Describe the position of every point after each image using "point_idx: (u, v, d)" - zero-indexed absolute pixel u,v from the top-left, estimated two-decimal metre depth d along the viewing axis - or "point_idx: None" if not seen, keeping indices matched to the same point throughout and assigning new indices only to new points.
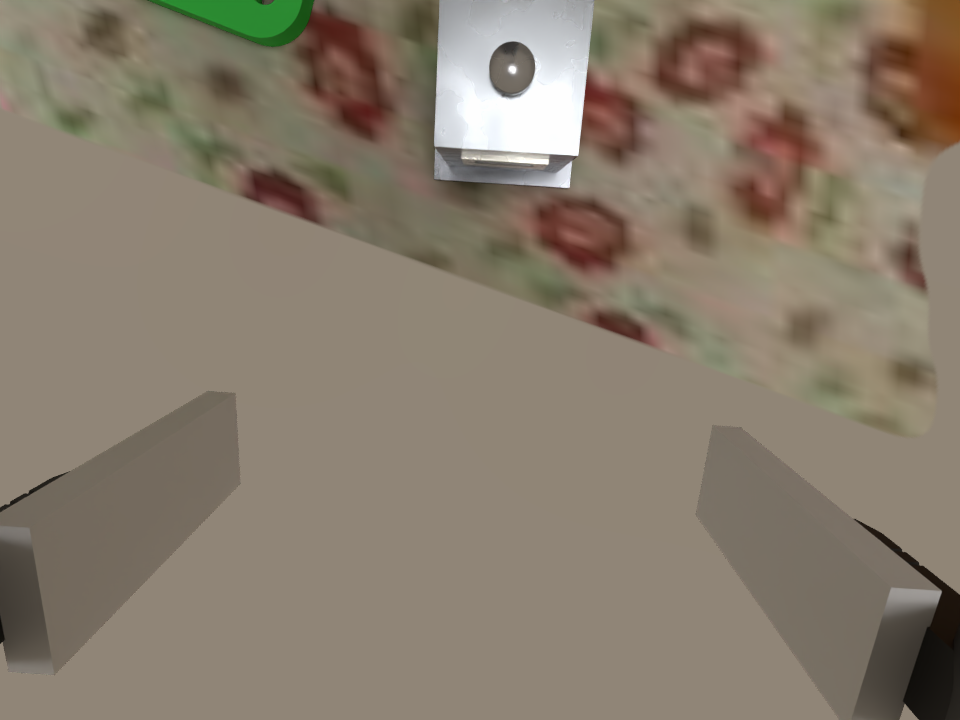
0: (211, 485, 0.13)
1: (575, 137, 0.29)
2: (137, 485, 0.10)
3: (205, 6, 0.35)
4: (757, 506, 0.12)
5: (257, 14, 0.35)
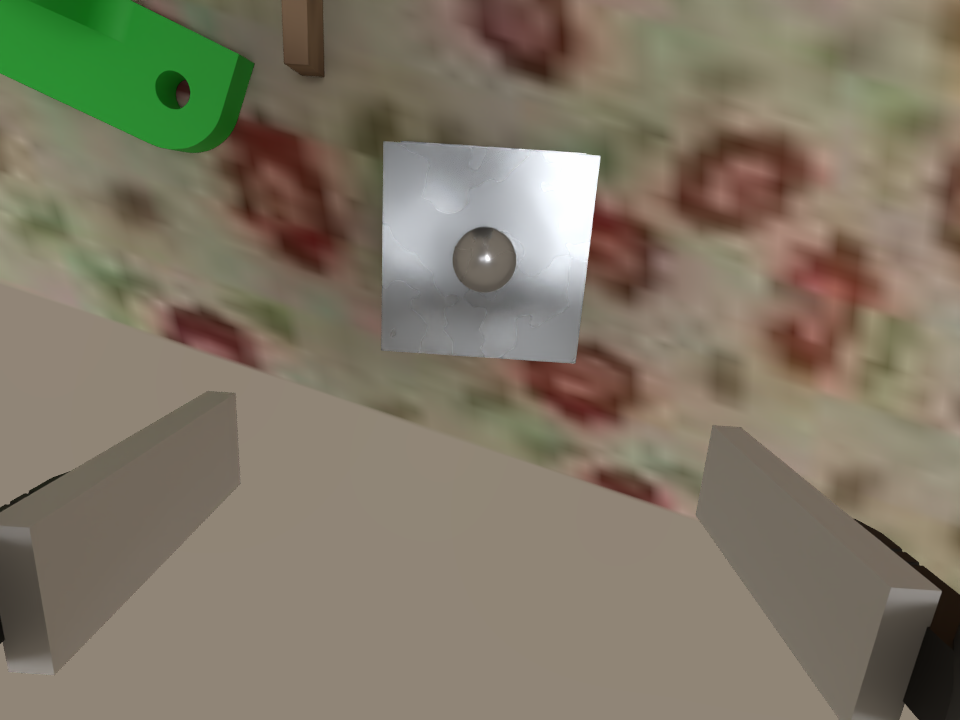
0: (211, 485, 0.13)
1: (571, 341, 0.21)
2: (137, 485, 0.10)
3: (96, 103, 0.27)
4: (757, 506, 0.12)
5: (163, 119, 0.27)
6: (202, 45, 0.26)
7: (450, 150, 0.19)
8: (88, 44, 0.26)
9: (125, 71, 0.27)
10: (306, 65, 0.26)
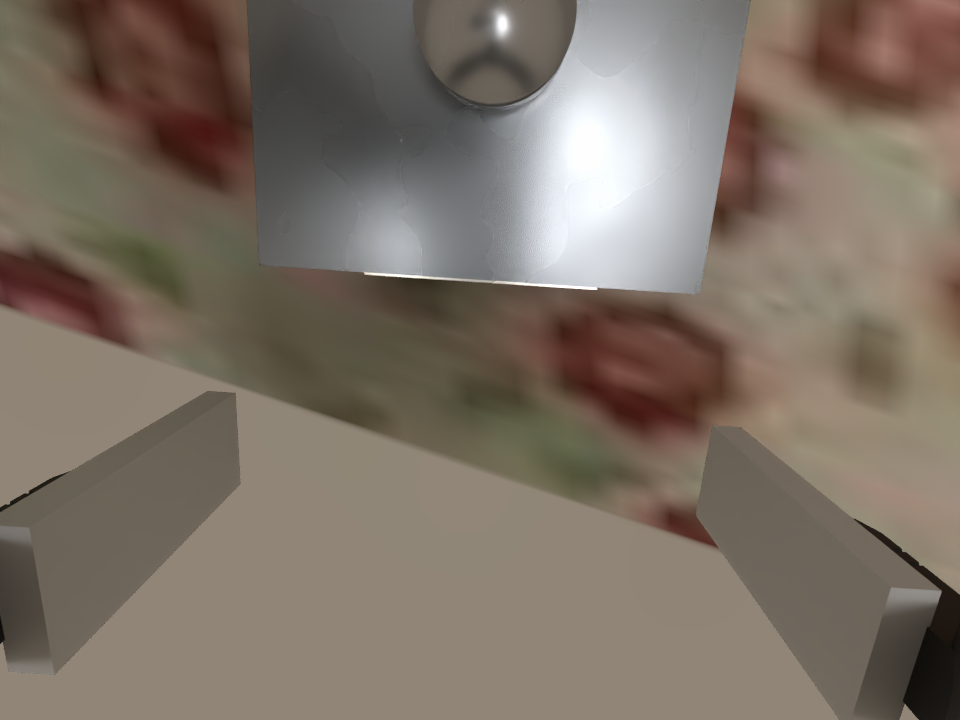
0: (211, 485, 0.13)
1: (694, 240, 0.09)
2: (137, 485, 0.10)
3: None
4: (757, 505, 0.12)
5: None
6: None
7: None
8: None
9: None
10: None
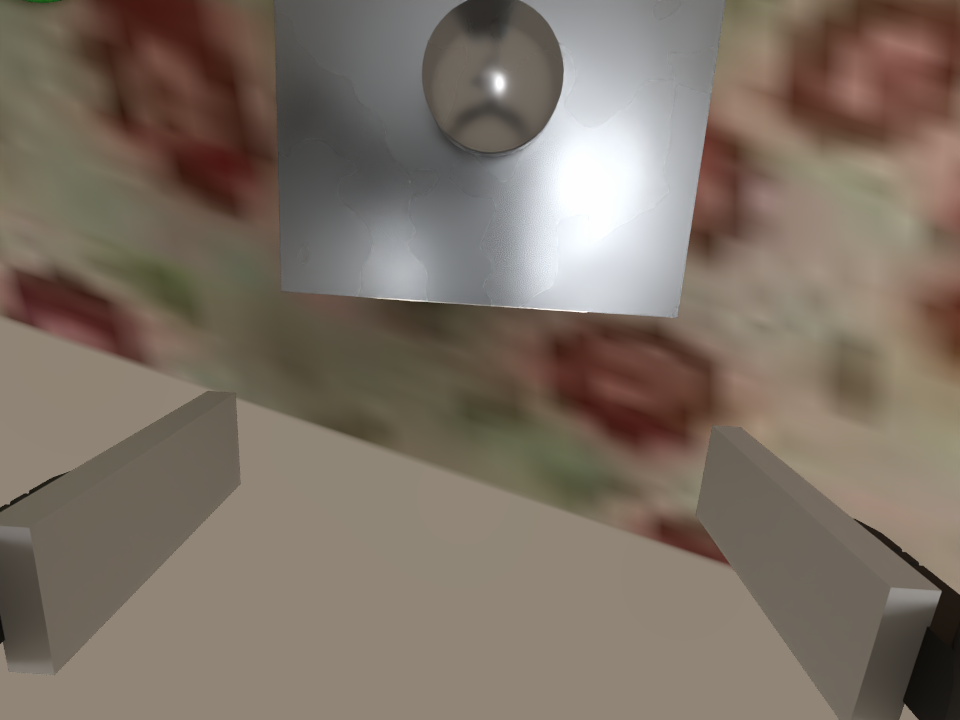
0: (211, 485, 0.13)
1: (671, 270, 0.10)
2: (137, 485, 0.10)
3: None
4: (757, 506, 0.12)
5: None
6: None
7: None
8: None
9: None
10: None
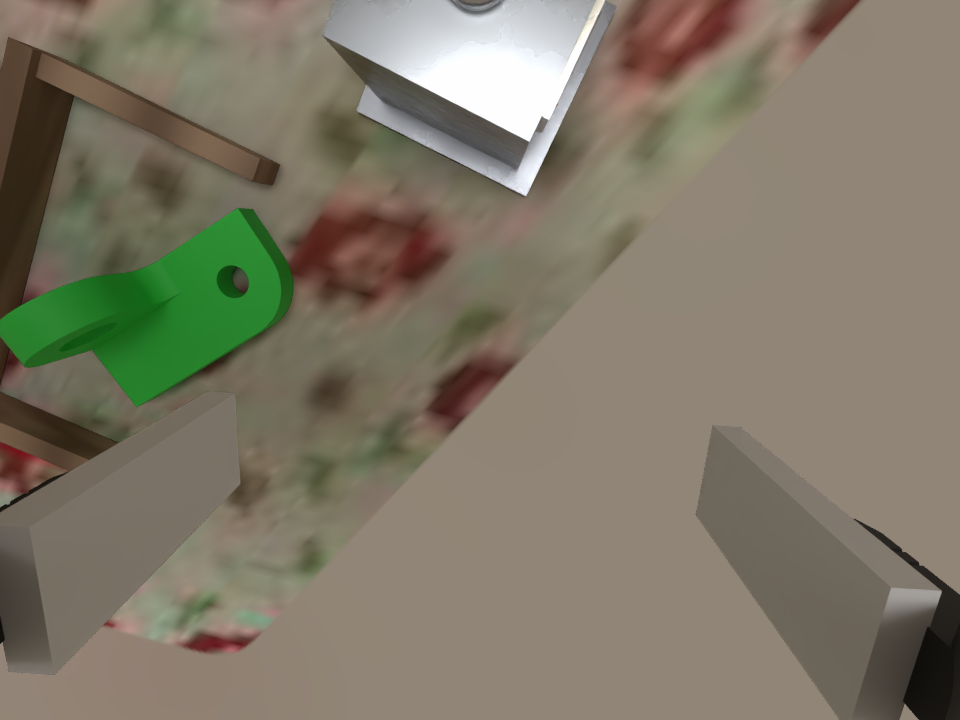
0: (211, 485, 0.13)
1: None
2: (137, 485, 0.10)
3: (208, 347, 0.30)
4: (757, 506, 0.12)
5: (248, 306, 0.29)
6: (215, 232, 0.28)
7: None
8: (167, 318, 0.29)
9: (200, 307, 0.29)
10: (260, 161, 0.27)
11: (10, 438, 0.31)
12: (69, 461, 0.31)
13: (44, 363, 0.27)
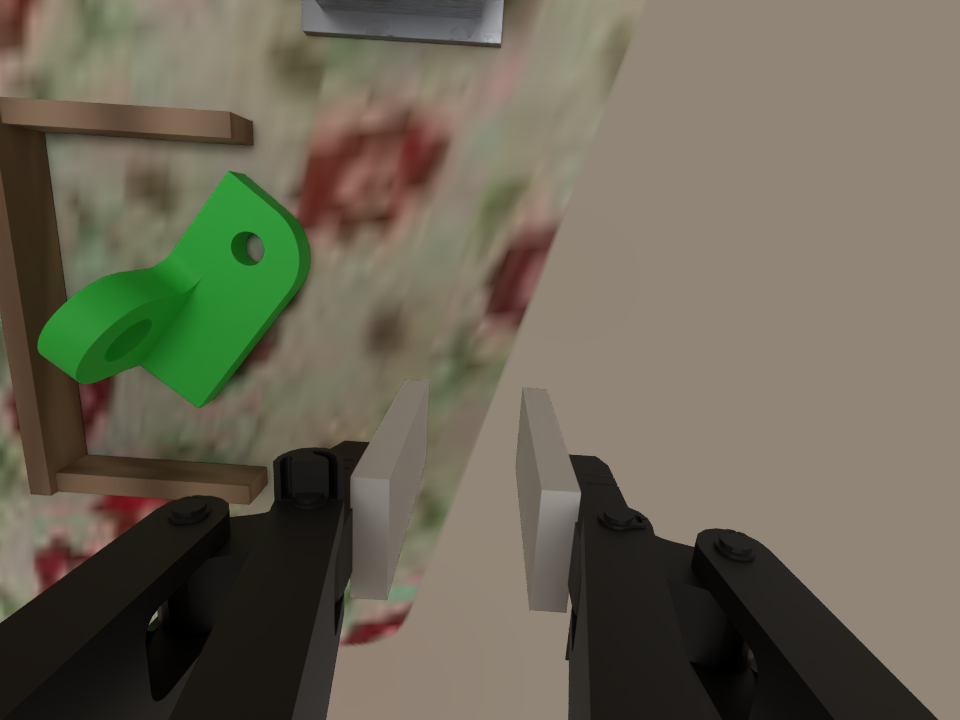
0: (420, 459, 0.15)
1: None
2: (408, 453, 0.12)
3: (246, 324, 0.29)
4: (526, 448, 0.14)
5: (270, 269, 0.28)
6: (215, 203, 0.27)
7: None
8: (198, 308, 0.29)
9: (225, 285, 0.29)
10: (231, 115, 0.26)
11: (111, 487, 0.31)
12: (171, 489, 0.31)
13: (97, 379, 0.26)
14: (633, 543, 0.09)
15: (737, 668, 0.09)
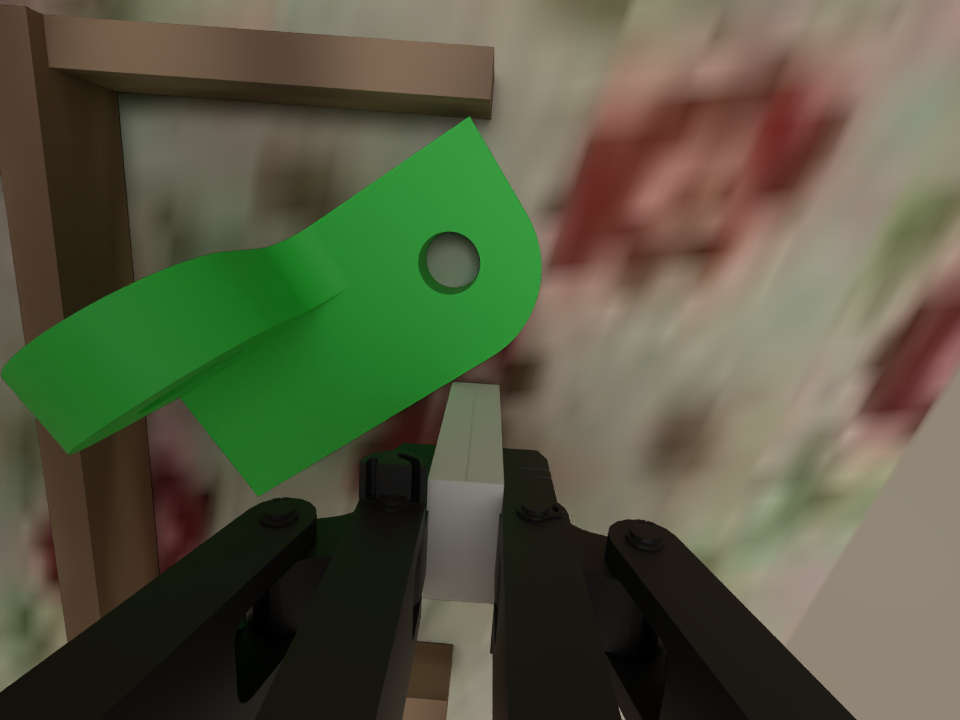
0: None
1: None
2: None
3: (395, 388, 0.16)
4: None
5: (476, 310, 0.15)
6: (422, 166, 0.15)
7: None
8: (321, 336, 0.16)
9: (383, 313, 0.16)
10: (493, 55, 0.13)
11: None
12: None
13: (104, 437, 0.13)
14: (550, 533, 0.09)
15: (651, 656, 0.09)
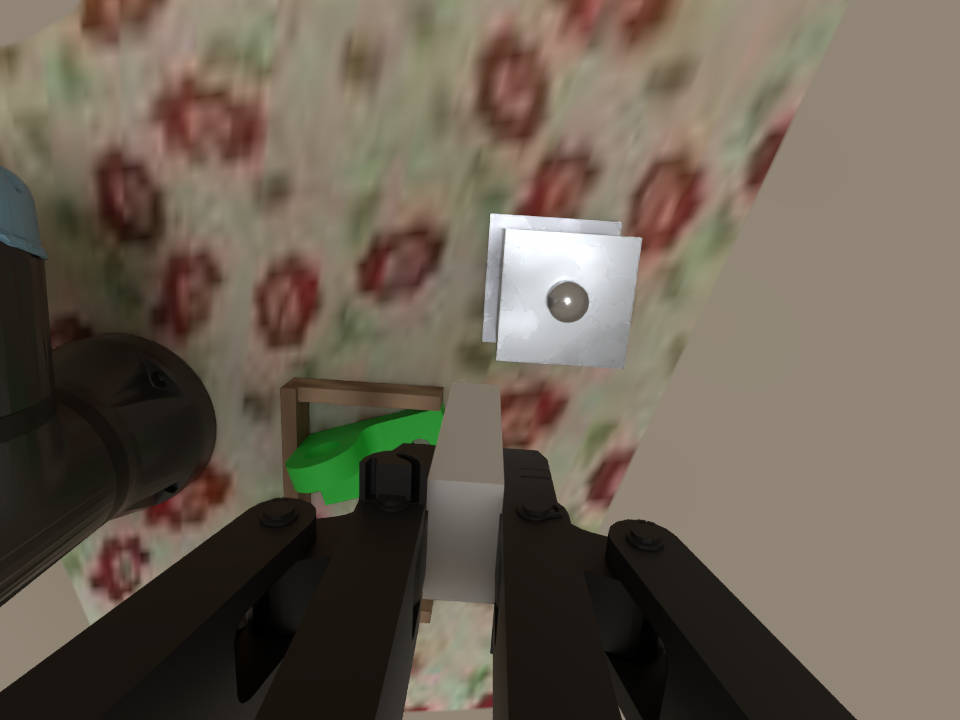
0: None
1: (625, 241, 0.31)
2: None
3: None
4: None
5: None
6: (420, 417, 0.43)
7: (501, 321, 0.32)
8: None
9: None
10: (440, 398, 0.42)
11: None
12: None
13: None
14: (550, 533, 0.09)
15: (651, 656, 0.09)
